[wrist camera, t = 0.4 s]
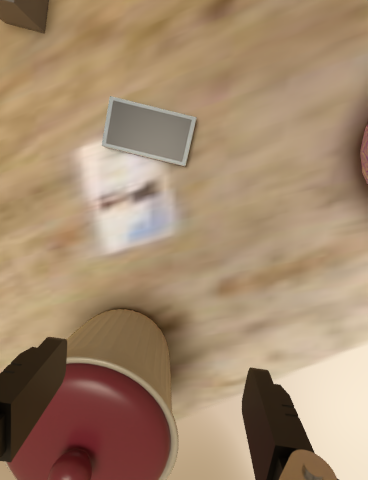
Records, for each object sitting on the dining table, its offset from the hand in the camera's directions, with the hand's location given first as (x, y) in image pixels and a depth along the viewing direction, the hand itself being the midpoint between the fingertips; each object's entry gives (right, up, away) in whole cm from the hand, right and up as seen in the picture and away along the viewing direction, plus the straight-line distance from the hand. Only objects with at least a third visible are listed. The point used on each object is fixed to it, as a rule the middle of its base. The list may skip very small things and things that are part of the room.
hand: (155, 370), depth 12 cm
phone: (-3, +20, +25) cm, 32 cm away
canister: (-8, -10, +31) cm, 34 cm away
